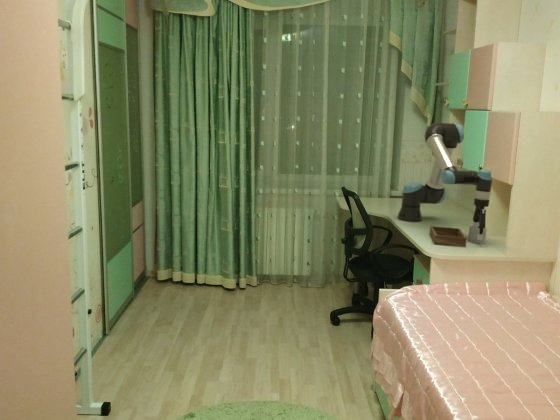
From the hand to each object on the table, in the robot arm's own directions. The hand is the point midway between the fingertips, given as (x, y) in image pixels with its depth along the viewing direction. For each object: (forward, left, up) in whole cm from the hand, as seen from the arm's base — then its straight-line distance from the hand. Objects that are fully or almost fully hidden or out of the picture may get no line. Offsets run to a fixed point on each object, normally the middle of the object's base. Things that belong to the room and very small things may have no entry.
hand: (477, 236), depth 291 cm
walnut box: (+2, -16, -3) cm, 16 cm away
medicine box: (0, 0, -3) cm, 3 cm away
